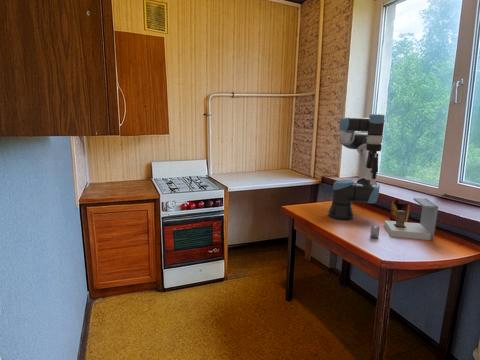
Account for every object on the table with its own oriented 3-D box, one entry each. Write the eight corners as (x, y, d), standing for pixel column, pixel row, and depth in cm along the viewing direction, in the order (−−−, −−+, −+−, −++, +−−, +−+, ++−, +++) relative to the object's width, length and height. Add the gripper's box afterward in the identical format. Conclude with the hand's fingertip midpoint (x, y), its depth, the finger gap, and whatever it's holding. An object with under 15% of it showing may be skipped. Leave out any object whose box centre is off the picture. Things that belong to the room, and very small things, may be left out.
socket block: (383, 226, 173) (387, 196, 169) (422, 229, 168) (426, 198, 165) (390, 236, 157) (394, 203, 154) (433, 240, 153) (438, 206, 149)
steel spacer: (369, 235, 158) (370, 225, 157) (377, 236, 157) (378, 225, 156) (370, 238, 154) (372, 227, 153) (379, 239, 153) (380, 228, 152)
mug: (402, 226, 173) (404, 206, 171) (386, 218, 186) (388, 200, 184) (416, 225, 175) (419, 205, 173) (399, 217, 188) (402, 199, 186)
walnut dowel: (394, 230, 166) (396, 209, 164) (401, 231, 165) (404, 210, 163) (396, 233, 162) (398, 212, 160) (404, 233, 161) (406, 212, 159)
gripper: (362, 141, 172) (359, 177, 177) (371, 145, 149) (367, 186, 153) (376, 142, 171) (373, 178, 175) (387, 145, 147) (382, 187, 151)
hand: (370, 182), depth 164 cm, fingers open, 13 cm apart
